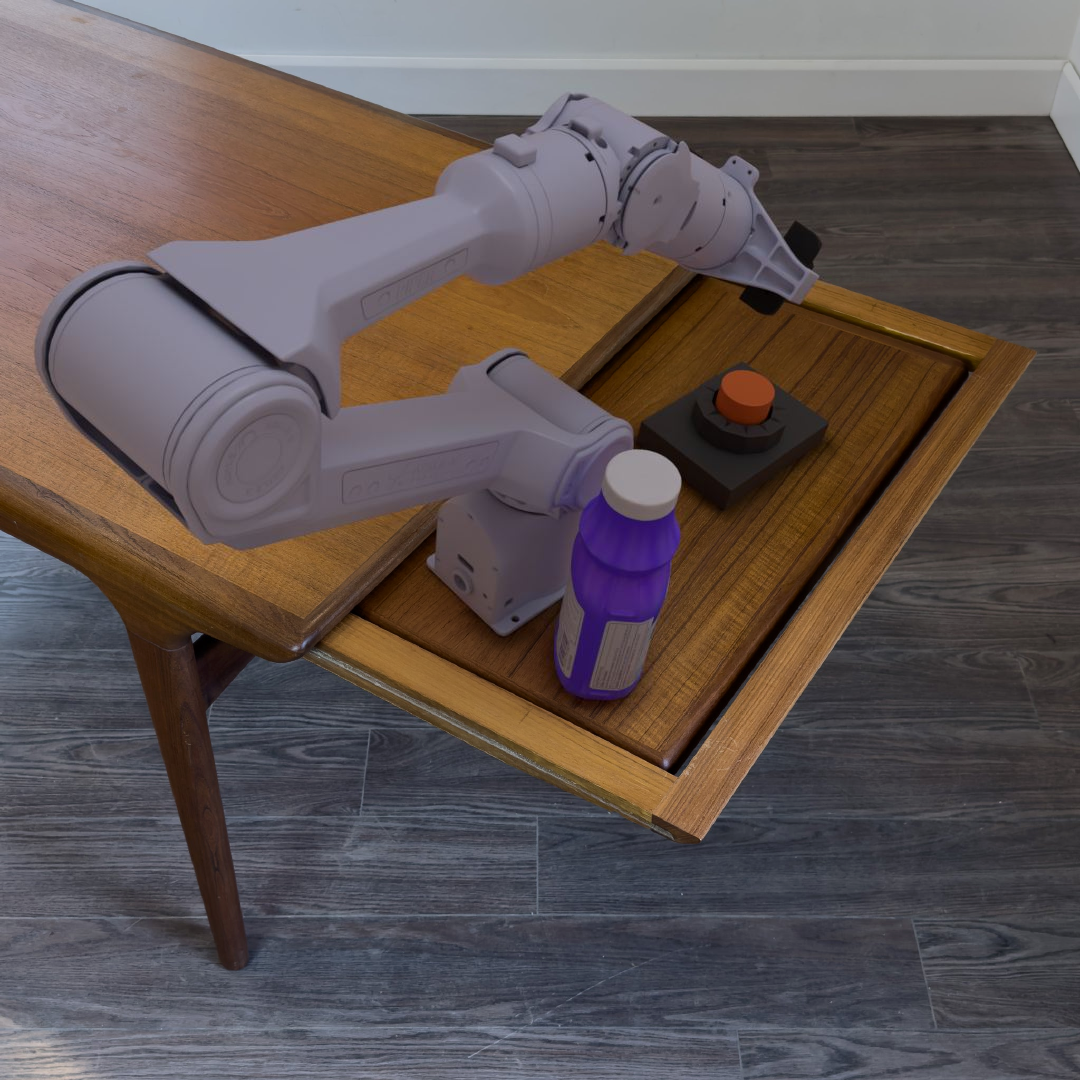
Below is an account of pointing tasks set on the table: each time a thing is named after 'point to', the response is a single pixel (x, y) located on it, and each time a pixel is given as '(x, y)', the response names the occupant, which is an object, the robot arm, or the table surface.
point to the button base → (730, 440)
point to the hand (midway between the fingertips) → (757, 245)
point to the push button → (745, 397)
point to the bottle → (618, 577)
